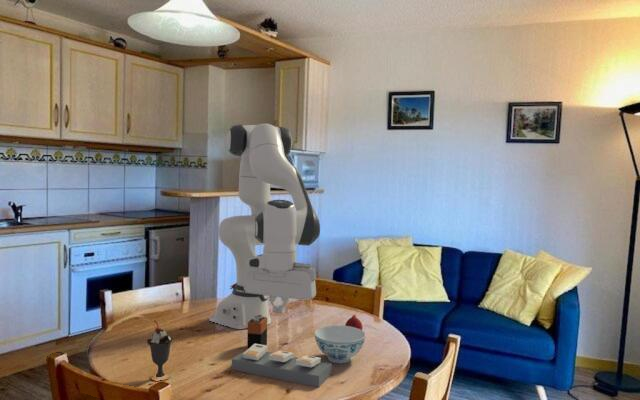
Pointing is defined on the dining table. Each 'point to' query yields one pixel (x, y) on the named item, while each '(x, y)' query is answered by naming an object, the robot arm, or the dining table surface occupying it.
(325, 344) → the chinaware
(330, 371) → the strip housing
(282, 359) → the rocker
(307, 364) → the block
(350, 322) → the red rounded piece
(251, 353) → the rocker
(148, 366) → the dining table surface
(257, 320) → the battery
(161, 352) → the sundae
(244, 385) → the dining table surface
